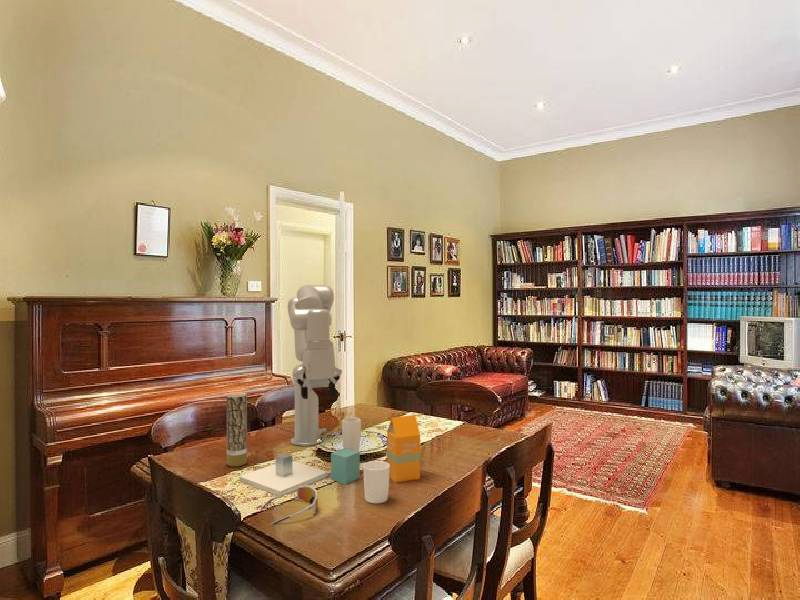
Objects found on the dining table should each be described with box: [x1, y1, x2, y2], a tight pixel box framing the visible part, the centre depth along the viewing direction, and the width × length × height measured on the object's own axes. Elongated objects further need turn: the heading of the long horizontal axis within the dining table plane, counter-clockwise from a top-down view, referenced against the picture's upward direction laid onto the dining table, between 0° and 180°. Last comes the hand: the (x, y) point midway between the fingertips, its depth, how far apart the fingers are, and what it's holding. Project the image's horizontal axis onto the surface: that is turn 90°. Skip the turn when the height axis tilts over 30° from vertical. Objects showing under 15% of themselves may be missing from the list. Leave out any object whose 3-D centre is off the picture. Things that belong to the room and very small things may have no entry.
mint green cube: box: [330, 448, 361, 485], centre depth 160 cm, size 7×7×9 cm
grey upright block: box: [275, 452, 293, 477], centre depth 160 cm, size 4×4×6 cm
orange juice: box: [386, 414, 421, 483], centre depth 163 cm, size 8×9×20 cm
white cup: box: [362, 460, 390, 504], centre depth 145 cm, size 8×8×10 cm
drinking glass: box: [341, 416, 362, 452], centre depth 178 cm, size 7×7×15 cm
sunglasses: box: [259, 485, 319, 525], centre depth 137 cm, size 14×15×5 cm
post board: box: [238, 460, 329, 496], centre depth 160 cm, size 20×20×2 cm
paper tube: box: [226, 391, 248, 468], centre depth 174 cm, size 7×7×25 cm
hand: (318, 396), depth 165 cm, fingers open, 9 cm apart
